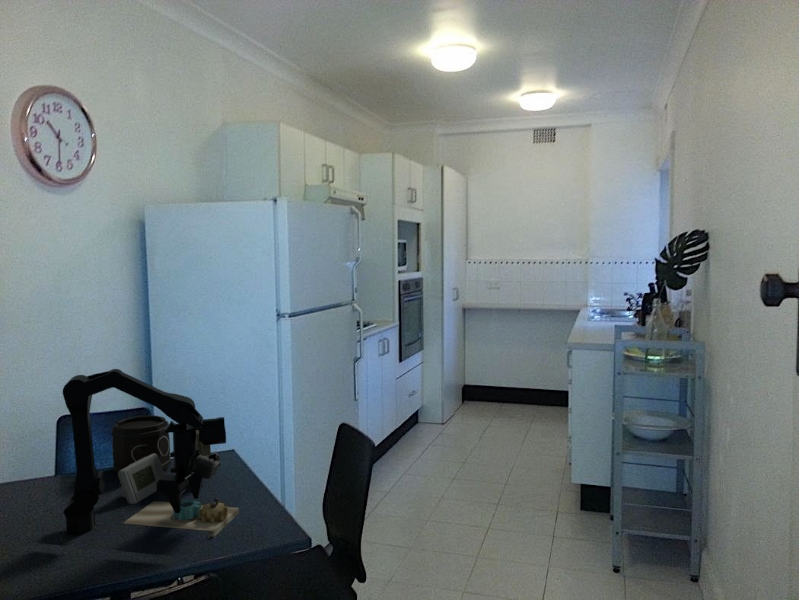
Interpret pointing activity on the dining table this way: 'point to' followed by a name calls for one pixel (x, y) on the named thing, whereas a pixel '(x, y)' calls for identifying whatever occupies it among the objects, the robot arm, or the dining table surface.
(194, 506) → the teal gear
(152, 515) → the gear board
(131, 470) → the digital clock
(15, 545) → the dining table surface
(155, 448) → the brown round pot
